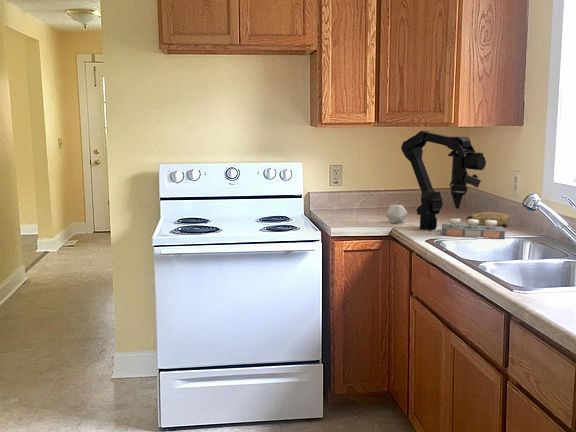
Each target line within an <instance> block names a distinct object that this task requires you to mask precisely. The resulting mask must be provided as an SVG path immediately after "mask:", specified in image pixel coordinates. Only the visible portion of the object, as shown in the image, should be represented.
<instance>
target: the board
mask: <svg viewBox="0 0 576 432" xmlns="http://www.w3.org/2000/svg"><path fill="white" fill-rule="evenodd" d="M440 232H441V236H442V237H443V236H445V237H459V238H460V237H462V238H478V237H488V238H487V239H496V240H498V239H500V240H505V237H506V235H505V234H506V230H505V228H504V226H494V228H493V229H488V226H478V225H475V228H470V225H469V224H457V227H452V223H441V231H440Z"/></svg>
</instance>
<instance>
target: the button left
mask: <svg viewBox="0 0 576 432" xmlns="http://www.w3.org/2000/svg"><path fill="white" fill-rule="evenodd" d="M461 223H462V222H461V218H456V217H455V218H453V217H452V218H449V221H448V224H452V227H457V225H461Z"/></svg>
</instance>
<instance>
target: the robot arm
mask: <svg viewBox="0 0 576 432" xmlns="http://www.w3.org/2000/svg"><path fill="white" fill-rule="evenodd" d="M428 142H429V143H432V144H433V143H434V144H438V145H441V146H445V147H446V148H448V149H449V150H451V151H450V153H448V154H447V156H448V157H452V161H451V162H452V164H451V176H450V177H451V180H450V181H449V188H450V189H449V190H450V194H451V197H452V201H453V202H454V207H455V209H458V210H459V209H460V206H461V202H462V198H463V196H464V195H466V194H467V192H468V184H469V185H471V186H473V187H475V188H478V189H479V186H480V183H481V181H482V179H480V178H478V175H477V174H475V173H474V174H472V175H470V174H468V171H467V170H473V171H474V170H475V171H483V170H484V169H485V168H486V165H487V160H486V157H485V156H484V153H483V152H476V150H475V149H474V146H473V144H472V141H471V139H470V137H468V136H452V135H451V136H450V135H446V134H441V133H436V132H434V131H432V132H431V131H429V130H420V131H419V132H418V133H416V134H415V135H413V136H411V137H409V138H408V139H406V140H404V141H403V142H402V144H401V146H400V150H401V152H402V153H403V155H404V157H405V158H406V159H407V161H409V162H410V164H411V167H412V170H413V173H414V175H415V178H416V180H417V184H418V186H419V189H420V191H421V195H420V203H421V204H420V206H418V207H417V208H416V213H417V214H416V215H419V227H418V229H419V230H427V231H429V230H430V231H435V230H436V229H437V226H438V217H436V216H437V215H438V214H440V212H441V209H442V208H443V205H444V204H443V201H444V199H443V197H442V194H441V191H435V189H434V187H433V185H432V181H431V179H430V177H429V174H428V171H427V169H426V166H425V163H424V160H423V152H424V151H423V148H424V147H425V146H426V144H427V143H428Z"/></svg>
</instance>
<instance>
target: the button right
mask: <svg viewBox="0 0 576 432" xmlns="http://www.w3.org/2000/svg"><path fill="white" fill-rule="evenodd" d="M485 225H488V229H493V228H494V226H495V225H497V221H495V220H486V221H485Z"/></svg>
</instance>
